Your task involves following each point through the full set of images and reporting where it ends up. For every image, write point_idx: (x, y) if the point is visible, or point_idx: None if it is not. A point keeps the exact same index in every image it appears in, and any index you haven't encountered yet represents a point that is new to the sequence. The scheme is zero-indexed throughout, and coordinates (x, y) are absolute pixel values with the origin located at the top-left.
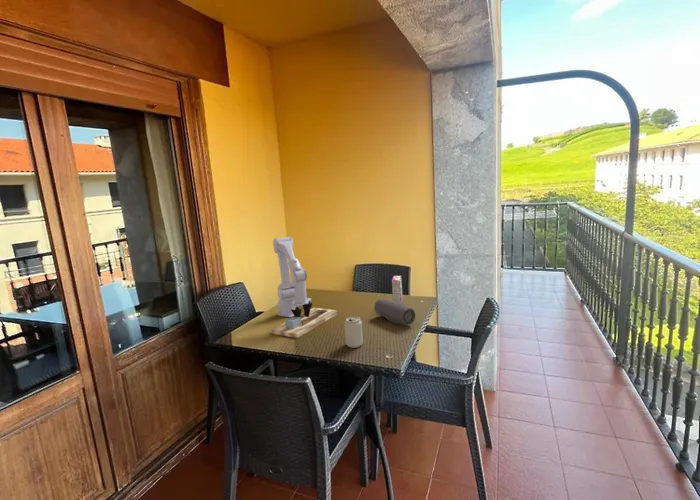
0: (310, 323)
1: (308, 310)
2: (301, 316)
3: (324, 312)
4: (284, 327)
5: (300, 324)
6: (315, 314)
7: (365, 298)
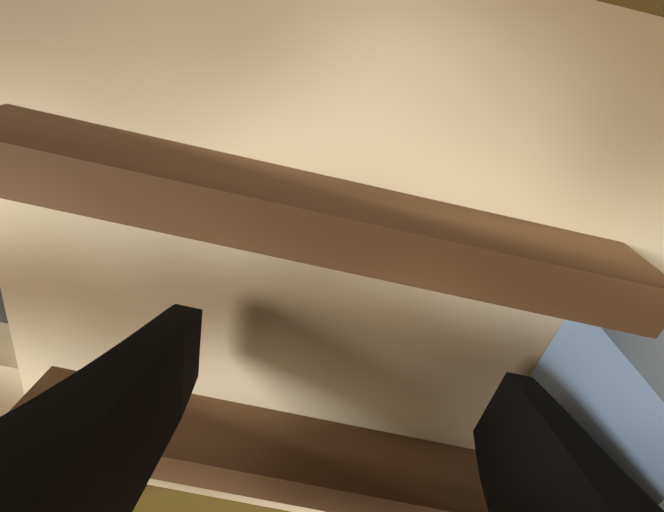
0: (483, 127)
1: (97, 445)
2: (209, 436)
3: None
4: None
5: None
6: (20, 173)
7: None
